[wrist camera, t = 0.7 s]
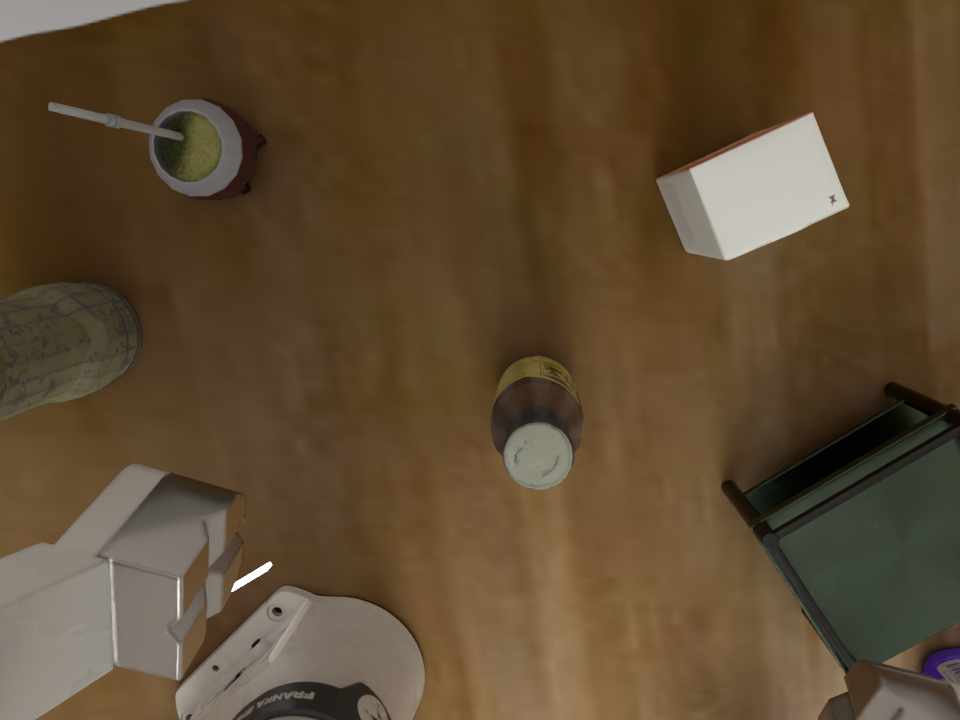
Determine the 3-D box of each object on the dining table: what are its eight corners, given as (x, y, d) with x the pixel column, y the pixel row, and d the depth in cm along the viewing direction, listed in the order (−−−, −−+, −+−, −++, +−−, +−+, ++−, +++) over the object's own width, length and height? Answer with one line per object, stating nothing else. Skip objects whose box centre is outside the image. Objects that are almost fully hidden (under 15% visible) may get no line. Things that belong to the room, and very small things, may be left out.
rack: (806, 618, 66) (861, 697, 55) (718, 484, 64) (758, 539, 53) (981, 520, 64) (1075, 582, 53) (895, 378, 62) (974, 413, 51)
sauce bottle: (585, 410, 64) (613, 495, 44) (514, 437, 64) (510, 533, 45) (556, 337, 63) (572, 391, 43) (484, 365, 63) (467, 431, 44)
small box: (752, 131, 59) (816, 108, 46) (783, 209, 60) (854, 207, 47) (652, 178, 60) (687, 168, 47) (683, 254, 61) (726, 264, 48)
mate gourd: (289, 179, 62) (216, 168, 47) (201, 219, 62) (101, 220, 48) (247, 88, 60) (159, 47, 46) (158, 130, 61) (44, 103, 47)
